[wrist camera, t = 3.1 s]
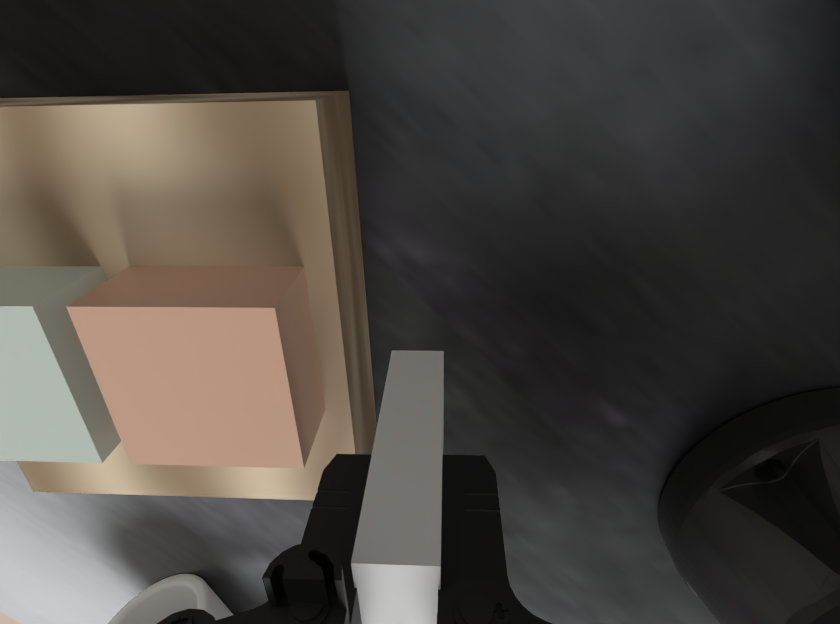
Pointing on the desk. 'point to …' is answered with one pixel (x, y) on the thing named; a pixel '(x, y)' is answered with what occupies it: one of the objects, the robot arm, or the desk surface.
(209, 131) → the oak board
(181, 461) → the tile terracotta
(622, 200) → the desk surface
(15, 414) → the tile grey
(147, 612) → the mug
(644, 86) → the desk surface
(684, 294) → the desk surface
